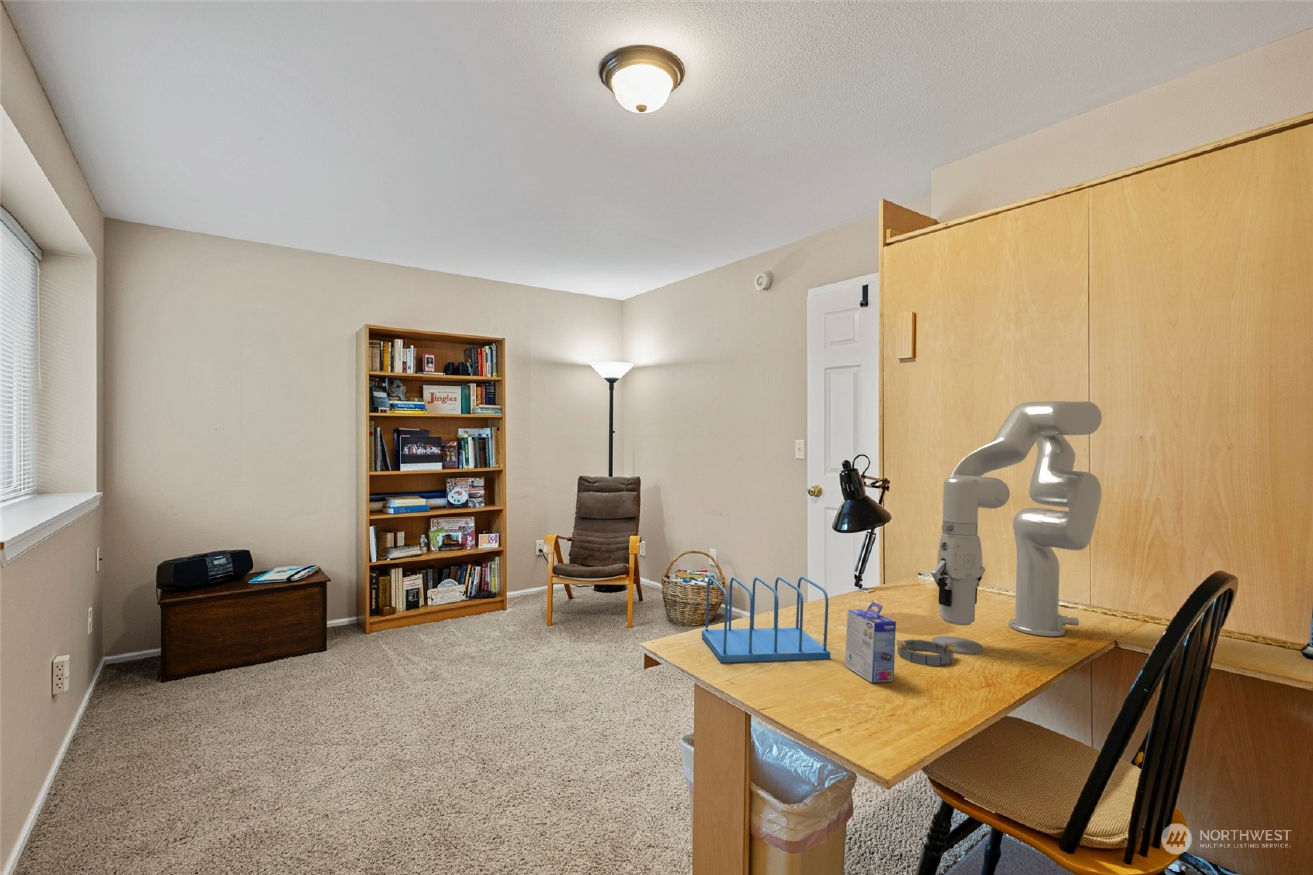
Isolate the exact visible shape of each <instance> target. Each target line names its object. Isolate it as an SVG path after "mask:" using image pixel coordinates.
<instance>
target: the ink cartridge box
mask: <svg viewBox="0 0 1313 875" xmlns="http://www.w3.org/2000/svg"><path fill="white" fill-rule="evenodd" d="M872 607H875V608H876V609H877V611H876V610H875V609H872ZM883 608H884V606H883V605H881V604H879V603H877V602H874V601H872V602H871V603H870V604H869V606H868V608H867V609H850V610H849V609H848V610H847V618H846V635H845V656H844V666H845V667H846V668H847V669H849V670H850V671H852V672H853V673H855V674H857V675H858V676H860V677H861V678H863V679H865V680H867V682H870V683H872V684H873V683H876V684H877V683H894V681H895V662H896V660H895V658H896V657H895V656H896V634H897V633H896V632H897V631H896V630H897V629H896V628H897V621H896V620H893V619H891V618H889V617H886V616H884V615H881V614H880V613H881V612H882V609H883Z"/></svg>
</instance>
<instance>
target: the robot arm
mask: <svg viewBox="0 0 1313 875" xmlns="http://www.w3.org/2000/svg"><path fill="white" fill-rule="evenodd" d="M1102 417H1103V416H1102V411H1101V408H1099V406H1098V405H1097V404H1095V403H1094V402H1091V401H1088V400H1087V401H1067V400H1066V401H1065V400H1063V401H1062V400H1053V401H1052V400H1049V401H1026V402H1021V403H1018V404H1017V405H1016V406H1014V407H1013V408H1012V410H1010V412H1009V414H1008V415H1007V417H1006V419H1005V420H1004V421H1003V423H1002V425H1001V426H1000V428H999V429H998V431H997V433H996V434H995V436H994V437H993V439H991V441H990V442H988V443H986V444H984V445H982V446H981V447H979V448H977V449H975V450H974V451H972V452H970V453H969V454H968V455H966V456H965V457H963V458H962V459H961V460H960V461H959V462H958V463H956V465H955V467H954V469H952V472H951V473H950V475H949V477H947V478H945V480H944V481H943V494H942V524H941V525H942V526H941V530H942V532H941V533H942V534H940V539H939V544H938V551H937V553H938V554H937V564H936V565H935V567H934V568H932V570H931V571H930V573H931V577H932V578H933V580H934V582H935V584H936V587H937V588H938V605H940V604H941V605H944V606H947V607H951V605H952V590H950V587H951V585H952V582H953V579H955V580H960V579H964V578H966V576H965V575H969V574H972V576H971V577H972V578H975V580H976V593H975V605H977V602H978V601H977V600H978V588H979V587H980V582H981V580H982V578H983V576H984V573H985V572H986V567H984V566H983V552H982V551H983V550H982V542H981V539H980V536H979V535H978V534H979V533H978V531H979V530H978V526H979V525H978V524H979V522H978V521H979V508H981V509H991V510H992V509H993V510H994V509H999V508H1001V507H1003V506H1005V505H1006V504H1007V502H1008V501H1009V498H1010V496H1011V494H1010V489H1009V488H1010V487H1009V486H1008V485H1007V483H1006V482H1005V481H1003V480H1002V479H999V478H997V477H989V476H984V475H985V474H987V473H990V472H992V471H997V470H1001V469H1005V468H1007V467H1008V468H1009V467H1011V466H1014V465H1017V464H1020V463H1022V462H1023V461H1024V460H1025V459H1026V458H1027V456H1028V454H1029V453H1030V451H1031V450H1032V448H1033V446H1034V445H1035V444H1036V447H1037V454H1036V461H1035V464H1034V468H1033V472H1032V476H1031V480H1030V484H1029V488H1028V490H1029V491H1028V495H1029V498H1030V499H1031V500H1032V501H1033V502H1034V503H1036V504H1039V505H1043V506H1050V507H1058V508H1059V507H1060V508H1066V509H1067V508H1068V511H1067V510H1057V509H1053V508H1052V509H1051V508H1042V507H1026V508H1022V509H1021V510H1018V511H1017V512H1016V514H1015V515H1014V517H1013V520H1012V529H1013V533H1014V539H1015V540H1014V541H1015V545H1016V575H1015V576H1016V577H1015V579H1016V580H1015V582H1016V583H1015V618H1010V619H1009V620H1008V626H1009V627H1010V628H1011V629H1013V630H1016V631H1019V632H1022V633H1026V634H1029V635H1035V636H1043V637H1061V636H1064V635H1065V634H1066V629H1065V628H1064V627H1065V626H1066V625H1067V626H1079V625H1080V621H1079V618H1078V617H1068V616H1067V615H1062V614H1060V613H1059V602H1060V601H1059V600H1060V599H1059V597H1060V596H1059V594H1060V562H1059V559H1058V556H1057V555H1056V553H1055V551H1054V550H1053V548H1054V549H1055V548H1057V549H1062V550H1068V551H1082V550H1084V549H1086V548H1087V547H1088V546H1089V544H1090V542H1091V540H1092V537H1093V533H1094V530H1095V527H1096V526H1095V525H1096V522H1097V517H1098V513H1099V509H1100V505H1101V500H1102V486H1101V481H1100V480H1099V479H1098V477H1097V476H1096V475H1095V474H1093V473H1091V472H1087V471H1081V470H1080V471H1079V470H1074V467H1075V466H1074V465H1075V461H1076V453H1075V451H1074V449H1073V446H1072V445H1071V444H1070V442H1069V441H1068V440H1067V438H1065V436H1084V435H1088V436H1089V435H1092V434H1094V433H1095V432H1096V431H1097V430H1098V429H1099V428H1100V426H1101V424H1102V420H1103V418H1102ZM946 574H948V575H946ZM944 578H946V579H948V580H947V582H945V581H944Z"/></svg>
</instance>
